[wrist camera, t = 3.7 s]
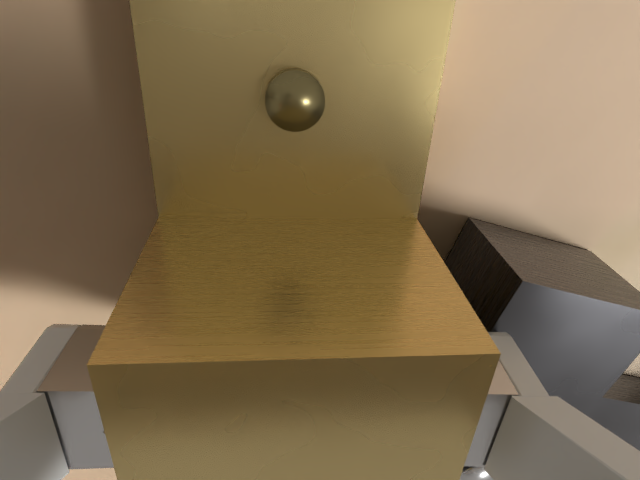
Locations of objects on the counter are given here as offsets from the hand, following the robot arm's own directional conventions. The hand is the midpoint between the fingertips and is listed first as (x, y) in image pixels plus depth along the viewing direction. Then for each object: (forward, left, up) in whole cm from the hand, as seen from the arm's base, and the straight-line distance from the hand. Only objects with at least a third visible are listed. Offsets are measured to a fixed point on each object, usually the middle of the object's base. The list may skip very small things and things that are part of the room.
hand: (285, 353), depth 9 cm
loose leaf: (-1, +3, -2) cm, 4 cm away
